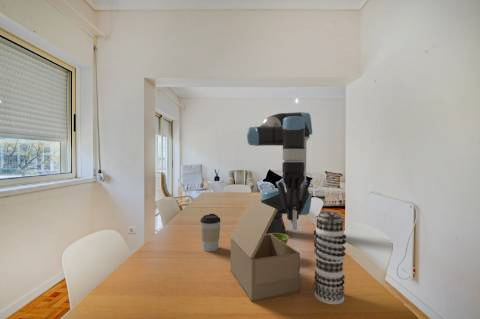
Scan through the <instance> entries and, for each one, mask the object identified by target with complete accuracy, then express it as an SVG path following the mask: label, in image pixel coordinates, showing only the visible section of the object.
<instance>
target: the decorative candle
mask: <svg viewBox="0 0 480 319" xmlns="http://www.w3.org/2000/svg"><path fill="white" fill-rule="evenodd" d="M315 219H316V226H315V229H314V231H313V235H314V237H313V246H314V257H315V262H316V264H315V269H314V282H313V285H314V287H313V288H314V289H313V290H314V297H315V298H316V299H317V300H318V301H320V302H322V303H324V304H328V305H340V304H342V303H344V301H345V297H344V296H345V286H344V285H345V274H344V267H343V266H344V262H345V259H346V258H345V256H346V252H345V251H346V247H345V246H344V245H345V244H346V243H347V241H346V238H347V235H346V234H345V229H344V221H345V218H343V217H342V216H341V214H340V213H339V212H335V211H330V210H329V211H320V212H319V213H318V215H315Z"/></svg>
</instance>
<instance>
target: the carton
mask: <svg viewBox="0 0 480 319" xmlns="http://www.w3.org/2000/svg"><path fill="white" fill-rule="evenodd" d="M300 262H301V253H300V252H299V251H297V250H295V248H293V247H291V246H290V245H289V244H285V243H284V242H282V241H281V240H279V239H278V238H276V237H275V236H273V235H272V234H265V236H264V238H263V240H262V242H261V244H260V246H259V248H258V250H257V252H256V254H255V256H254V258H253V259H251V258H250V257H249V256H248V255H247V254H246V253H245V252H244V251H243V250H242V249H241V248H240V247H239V246H238V245H237V244H236V243H235V242H234V241H233V240H232V239H231V238H230V272H231V274H232V275H233V277H234V279H235V280H236V281H237V283H238V284H239V286H240V287H241V289H242V290H243V292H244V293H245V294H246V296H247V297H248V299H249V300H250V302H257V301H261V300H262V301H263V300H265V299H271V298H276V297H282V296H285V295H290V294H291V295H292V294H296V293H300V290H301V289H300V284H301V283H300V282H301V279H300V276H301V274H300V271H301V263H300Z"/></svg>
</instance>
